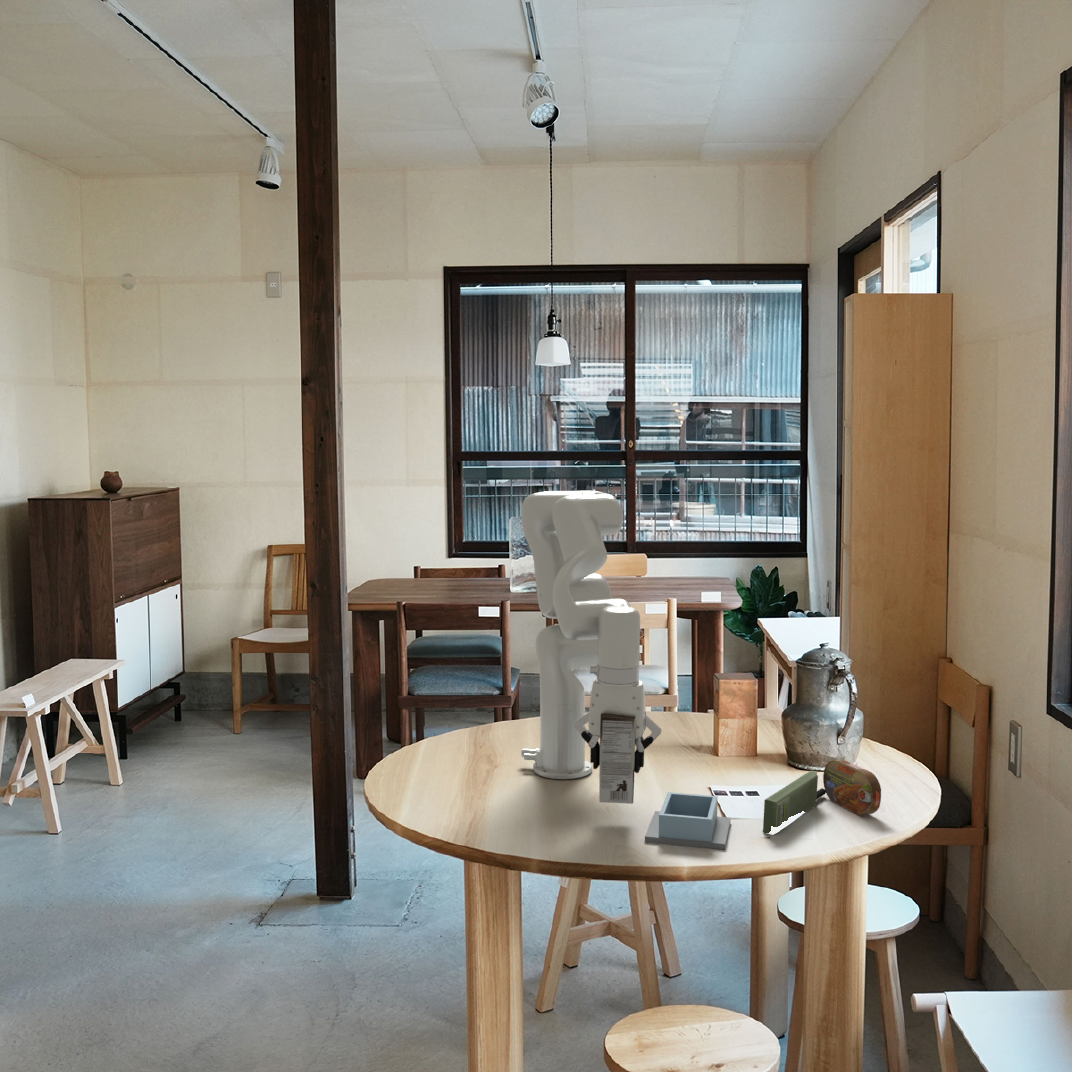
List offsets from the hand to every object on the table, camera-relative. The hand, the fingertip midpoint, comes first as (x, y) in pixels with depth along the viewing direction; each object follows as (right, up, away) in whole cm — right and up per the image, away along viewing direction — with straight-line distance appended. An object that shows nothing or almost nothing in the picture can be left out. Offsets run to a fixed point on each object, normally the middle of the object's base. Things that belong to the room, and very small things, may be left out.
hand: (617, 767), depth 192 cm
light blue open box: (+13, -11, -3) cm, 17 cm away
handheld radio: (+35, -10, +6) cm, 36 cm away
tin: (+46, -10, +9) cm, 48 cm away
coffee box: (0, -5, +1) cm, 5 cm away
